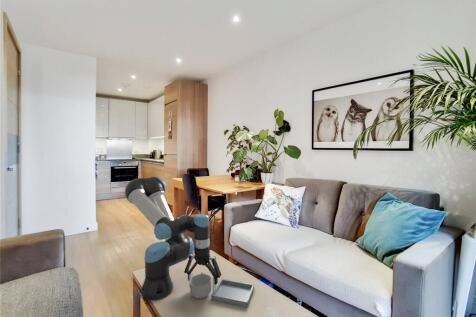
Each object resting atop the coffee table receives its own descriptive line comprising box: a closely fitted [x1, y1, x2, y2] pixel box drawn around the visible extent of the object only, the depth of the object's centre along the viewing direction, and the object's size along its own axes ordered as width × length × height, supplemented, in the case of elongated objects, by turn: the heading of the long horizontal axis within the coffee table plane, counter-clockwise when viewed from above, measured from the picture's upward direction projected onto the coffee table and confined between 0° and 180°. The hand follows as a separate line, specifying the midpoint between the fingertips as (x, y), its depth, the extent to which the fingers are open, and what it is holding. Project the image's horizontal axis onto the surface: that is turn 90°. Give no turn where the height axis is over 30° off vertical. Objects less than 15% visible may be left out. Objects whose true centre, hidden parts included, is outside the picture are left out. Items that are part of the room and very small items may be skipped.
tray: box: [210, 278, 255, 308], centre depth 120 cm, size 18×15×2 cm
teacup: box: [188, 271, 212, 300], centre depth 121 cm, size 14×11×8 cm
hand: (202, 288), depth 121 cm, fingers open, 12 cm apart
